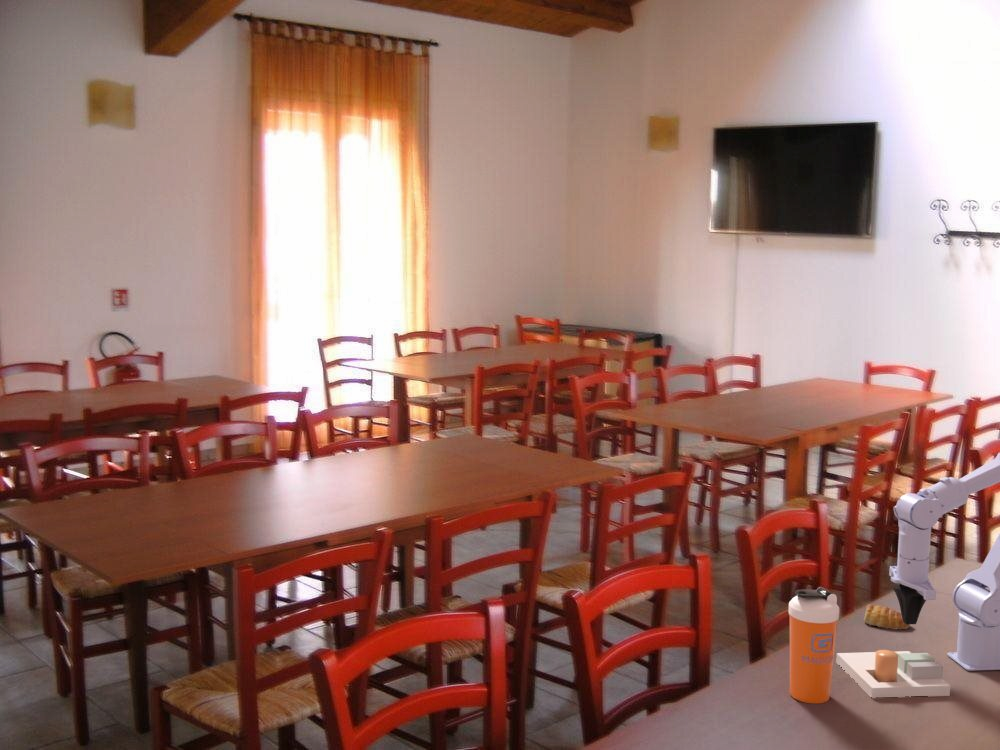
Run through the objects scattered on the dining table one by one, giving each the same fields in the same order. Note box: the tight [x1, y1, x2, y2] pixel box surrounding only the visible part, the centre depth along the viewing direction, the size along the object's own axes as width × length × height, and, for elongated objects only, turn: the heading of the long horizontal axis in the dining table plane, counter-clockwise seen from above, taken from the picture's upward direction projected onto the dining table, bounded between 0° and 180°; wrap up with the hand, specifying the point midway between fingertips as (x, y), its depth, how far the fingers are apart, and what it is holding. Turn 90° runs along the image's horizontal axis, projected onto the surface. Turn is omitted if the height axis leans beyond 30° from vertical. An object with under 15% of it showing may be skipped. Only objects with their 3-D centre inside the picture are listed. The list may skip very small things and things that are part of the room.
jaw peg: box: [874, 649, 898, 683], centre depth 195 cm, size 4×4×6 cm
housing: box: [835, 650, 951, 699], centre depth 198 cm, size 15×16×4 cm
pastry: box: [863, 604, 911, 630], centre depth 226 cm, size 9×7×4 cm
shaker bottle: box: [787, 586, 840, 705], centre depth 190 cm, size 9×9×20 cm
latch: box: [898, 652, 936, 673], centre depth 198 cm, size 6×3×2 cm, turn 95°
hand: (909, 623), depth 202 cm, fingers closed
